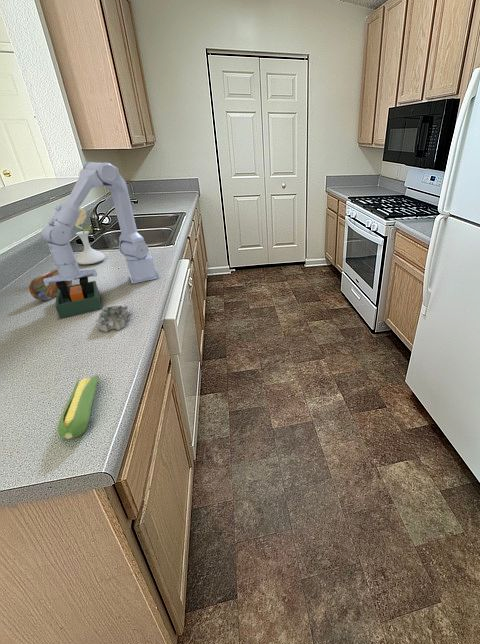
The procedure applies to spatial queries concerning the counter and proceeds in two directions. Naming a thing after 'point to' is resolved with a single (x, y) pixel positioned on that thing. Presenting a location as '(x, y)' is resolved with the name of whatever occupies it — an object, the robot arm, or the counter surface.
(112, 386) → the counter surface
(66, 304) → the bin
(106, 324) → the grey stone
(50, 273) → the tin
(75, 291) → the orange block
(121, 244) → the robot arm
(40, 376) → the counter surface
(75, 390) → the edible corn
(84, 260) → the flower in vase
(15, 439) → the counter surface
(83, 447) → the counter surface
